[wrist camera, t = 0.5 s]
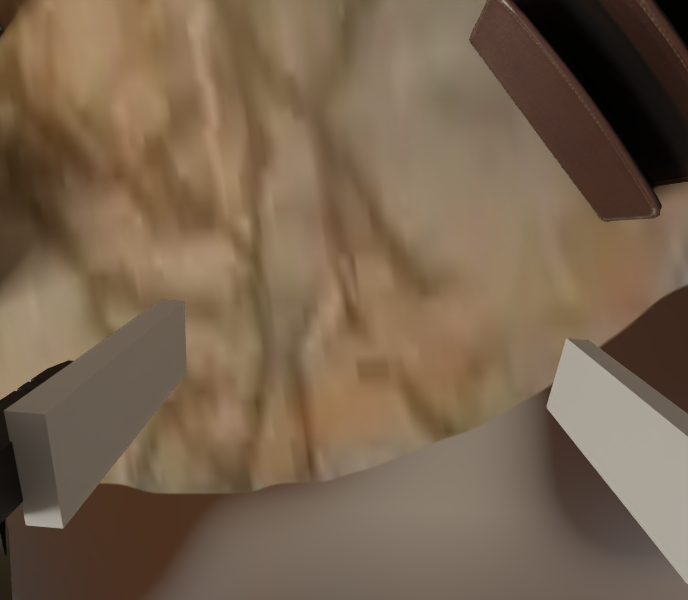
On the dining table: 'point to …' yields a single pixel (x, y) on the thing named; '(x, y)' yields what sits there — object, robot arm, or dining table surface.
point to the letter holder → (598, 90)
